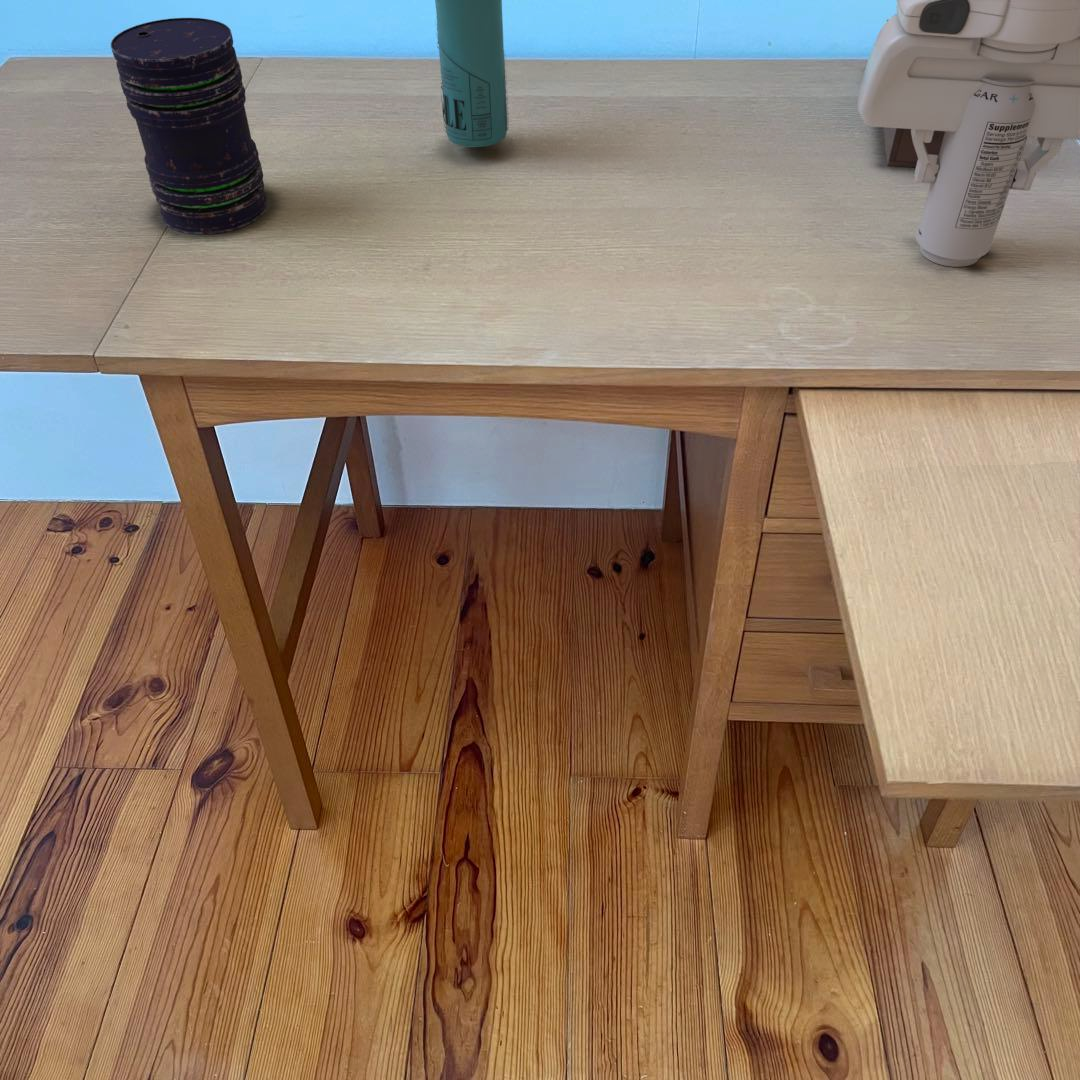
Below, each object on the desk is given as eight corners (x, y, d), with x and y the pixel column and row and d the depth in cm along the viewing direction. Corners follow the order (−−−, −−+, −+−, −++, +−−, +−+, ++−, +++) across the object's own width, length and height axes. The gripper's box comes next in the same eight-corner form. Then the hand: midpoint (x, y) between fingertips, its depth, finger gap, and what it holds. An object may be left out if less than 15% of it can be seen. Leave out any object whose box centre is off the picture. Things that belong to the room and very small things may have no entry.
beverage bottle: (520, 141, 103) (514, -83, 88) (491, 168, 98) (480, -63, 84) (464, 130, 105) (449, -90, 90) (432, 156, 100) (412, -71, 86)
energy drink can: (957, 229, 89) (1012, 51, 78) (1001, 262, 85) (1065, 79, 74) (899, 241, 87) (947, 62, 77) (941, 275, 83) (997, 91, 73)
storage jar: (289, 194, 95) (256, 25, 84) (230, 243, 89) (185, 67, 78) (201, 177, 98) (158, 11, 87) (137, 223, 91) (82, 50, 81)
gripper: (1170, -9, 73) (1097, 175, 83) (880, -22, 76) (842, 157, 85) (1193, 21, 68) (1113, 211, 78) (884, 6, 71) (844, 191, 81)
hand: (969, 183), depth 82 cm, fingers closed on energy drink can, 6 cm apart
